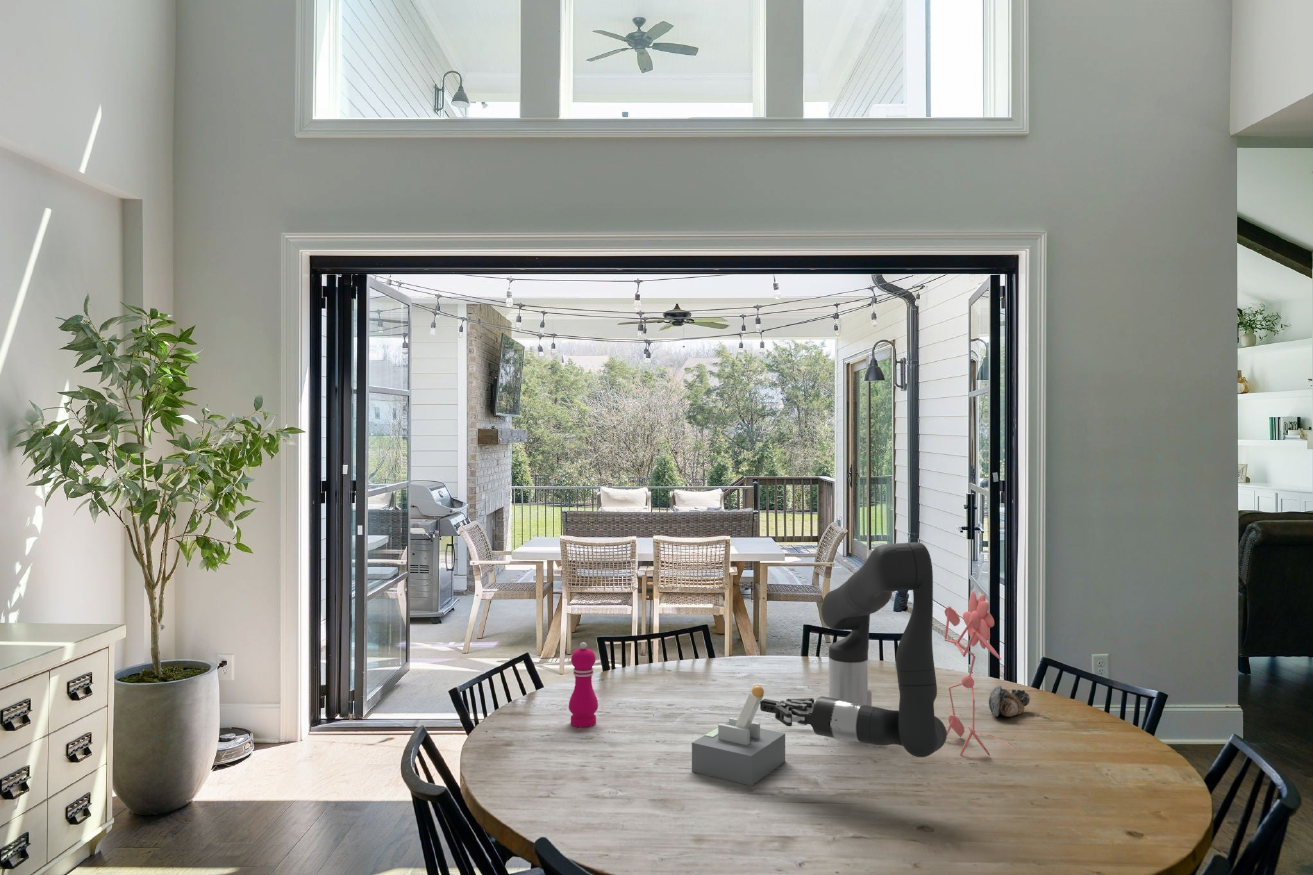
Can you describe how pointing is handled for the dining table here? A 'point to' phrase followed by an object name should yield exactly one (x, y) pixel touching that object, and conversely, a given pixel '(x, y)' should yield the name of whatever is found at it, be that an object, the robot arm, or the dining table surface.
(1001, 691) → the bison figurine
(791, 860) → the dining table surface
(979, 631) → the pink flower figurine
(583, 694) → the pepper mill
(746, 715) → the lever
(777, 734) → the box
